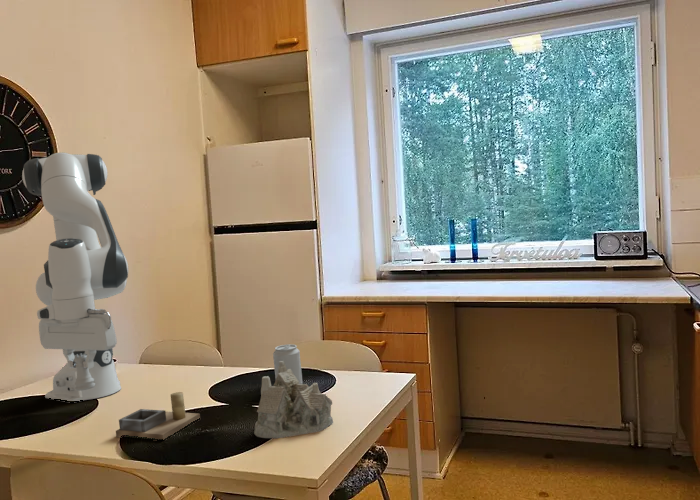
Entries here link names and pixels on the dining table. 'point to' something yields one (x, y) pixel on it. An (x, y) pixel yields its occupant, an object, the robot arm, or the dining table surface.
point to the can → (288, 360)
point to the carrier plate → (157, 420)
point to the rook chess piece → (82, 374)
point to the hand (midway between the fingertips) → (81, 367)
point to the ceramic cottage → (291, 407)
